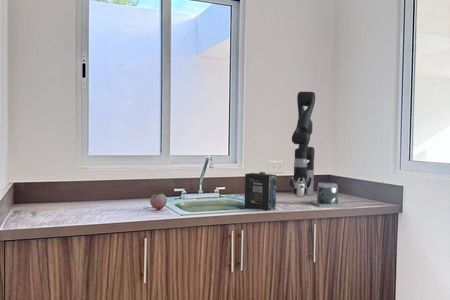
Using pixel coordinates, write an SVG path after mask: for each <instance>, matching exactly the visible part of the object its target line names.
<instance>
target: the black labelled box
mask: <svg viewBox="0 0 450 300" xmlns="http://www.w3.org/2000/svg"><path fill="white" fill-rule="evenodd" d="M244 174H245V175H244V185H243V188H242V189H243V190H244V197H243V198H242V199H244V208H247V209H253V210H259V209H262V210H261V211H266V210H269V211H272V210H271V209H273V210H275V209H276V208H277V205H276V203H277V197H276V193H277V179H278V178H277V175H276V174H272V173H270V174H269V173H266V172H265V171H259V173H258V172H257V173H256V172H249V173H244Z"/></svg>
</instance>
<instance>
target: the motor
mask: <svg viewBox="0 0 450 300" xmlns="http://www.w3.org/2000/svg"><path fill="white" fill-rule="evenodd" d="M316 187H317V188H316V199H309V203H310V204H312V203H313V204H312V205H314V204H315V205H314V206H316V205H317V207H318V206H319V208H345V207H347V203H344V202H341V201H340V200H339V186H338V184H337V183H333V182H318V186H316Z"/></svg>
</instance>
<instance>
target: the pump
mask: <svg viewBox="0 0 450 300" xmlns="http://www.w3.org/2000/svg"><path fill="white" fill-rule="evenodd" d="M296 189H297V195H295V197H296V198H305V195H304V183H303V181H299V183H298V185H297V187H296Z"/></svg>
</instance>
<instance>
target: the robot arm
mask: <svg viewBox="0 0 450 300" xmlns="http://www.w3.org/2000/svg"><path fill="white" fill-rule="evenodd" d="M296 101H297V103H296V104H297V113H298V115H297V116H298V119H297V123H296V128H295V130H294V131H293V133H292V135H291V142H292V143H293V144H294V145H298V147H297V148H295V149H294V161H293V176H291V177H290V176H288V181H289V187H291V188H293V195H295V196H296V195H297V189H296V187H297V185H298V183H299V181H303V183H304V196H312V195H314V182H315V179H314V177H315V176H314V174H315V173H314V172H315V168H314V166H315V153H316V152H315V148H314V147H313V146H309V144H310V141H311V135H312V133H313V121H312V119H311V117H312V113H313V111H314V106H315V104H316V93H315V92H314V91H299V92H298V93H297V97H296ZM305 107H306V109H305ZM293 181H294V182H293Z"/></svg>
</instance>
